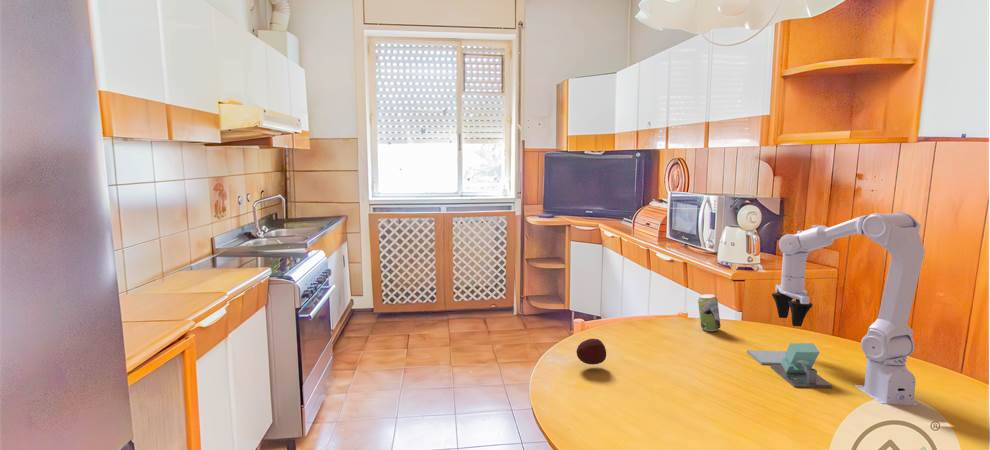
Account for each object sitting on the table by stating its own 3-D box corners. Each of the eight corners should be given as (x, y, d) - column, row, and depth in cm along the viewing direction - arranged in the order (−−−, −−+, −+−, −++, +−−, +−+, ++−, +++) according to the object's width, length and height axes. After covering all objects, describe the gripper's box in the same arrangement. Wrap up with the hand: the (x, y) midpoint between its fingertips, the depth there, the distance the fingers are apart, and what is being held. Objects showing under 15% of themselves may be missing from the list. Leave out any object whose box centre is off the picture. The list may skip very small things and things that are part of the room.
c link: (809, 372, 127) (819, 352, 123) (786, 372, 127) (796, 352, 123) (803, 363, 129) (813, 343, 125) (780, 363, 129) (789, 343, 125)
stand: (832, 388, 119) (833, 371, 119) (794, 386, 120) (795, 370, 120) (804, 368, 131) (805, 353, 131) (770, 367, 132) (771, 352, 131)
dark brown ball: (571, 359, 137) (572, 336, 136) (598, 357, 139) (599, 333, 138) (582, 370, 130) (583, 345, 129) (611, 367, 132) (612, 342, 131)
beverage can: (723, 333, 160) (725, 297, 158) (701, 332, 160) (702, 297, 159) (715, 326, 166) (717, 292, 165) (693, 326, 166) (695, 292, 165)
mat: (806, 365, 133) (806, 363, 133) (761, 364, 134) (761, 362, 134) (789, 353, 142) (789, 351, 142) (746, 352, 143) (746, 350, 143)
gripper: (822, 281, 131) (818, 330, 132) (793, 270, 145) (790, 314, 147) (795, 281, 131) (792, 329, 133) (769, 270, 146) (766, 314, 147)
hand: (789, 321), depth 140 cm, fingers open, 7 cm apart
